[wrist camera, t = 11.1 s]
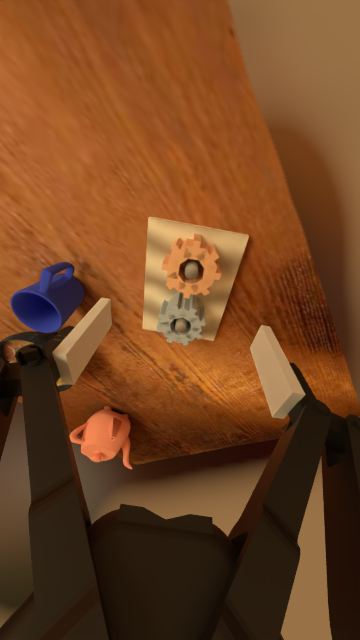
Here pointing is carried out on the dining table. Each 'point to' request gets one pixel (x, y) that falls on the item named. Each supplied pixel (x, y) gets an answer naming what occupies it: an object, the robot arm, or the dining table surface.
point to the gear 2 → (181, 309)
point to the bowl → (17, 341)
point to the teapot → (104, 436)
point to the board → (160, 279)
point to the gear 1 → (196, 252)
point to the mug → (49, 299)
